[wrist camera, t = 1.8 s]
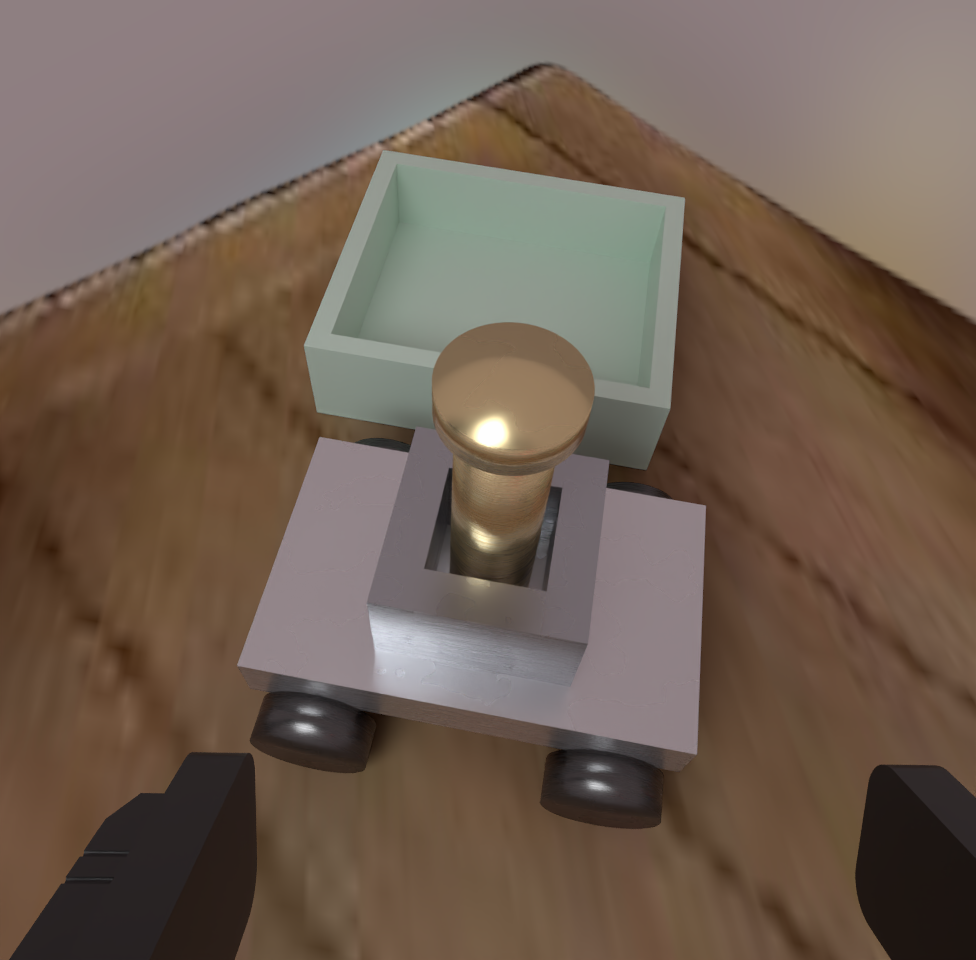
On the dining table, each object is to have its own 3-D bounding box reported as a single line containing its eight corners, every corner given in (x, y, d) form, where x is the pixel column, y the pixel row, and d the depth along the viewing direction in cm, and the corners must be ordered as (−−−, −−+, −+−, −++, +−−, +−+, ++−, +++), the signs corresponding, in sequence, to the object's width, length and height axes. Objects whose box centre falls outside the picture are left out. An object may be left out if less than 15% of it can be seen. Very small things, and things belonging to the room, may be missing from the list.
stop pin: (422, 620, 30) (415, 432, 20) (445, 522, 32) (449, 311, 22) (536, 642, 29) (585, 462, 20) (551, 541, 32) (602, 336, 22)
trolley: (254, 757, 33) (190, 669, 24) (343, 483, 40) (319, 342, 31) (653, 836, 32) (732, 774, 23) (671, 542, 39) (737, 413, 30)
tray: (317, 412, 42) (303, 345, 38) (387, 221, 50) (383, 149, 46) (646, 470, 41) (670, 408, 37) (663, 267, 49) (685, 197, 45)
